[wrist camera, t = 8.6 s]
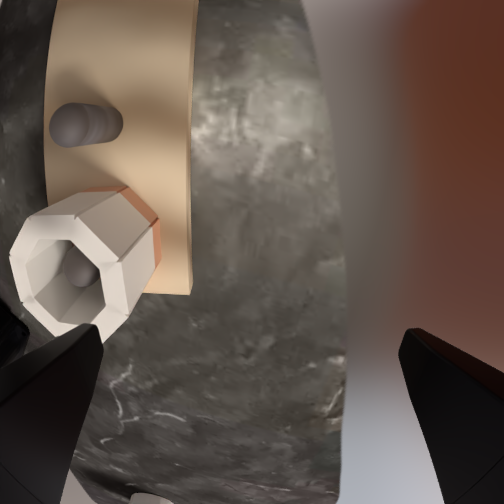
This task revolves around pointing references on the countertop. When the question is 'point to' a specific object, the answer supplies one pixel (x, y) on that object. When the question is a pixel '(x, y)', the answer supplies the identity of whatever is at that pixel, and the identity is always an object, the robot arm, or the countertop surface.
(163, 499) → the white cup
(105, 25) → the pin board
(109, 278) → the sleeve
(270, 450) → the countertop surface
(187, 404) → the countertop surface
